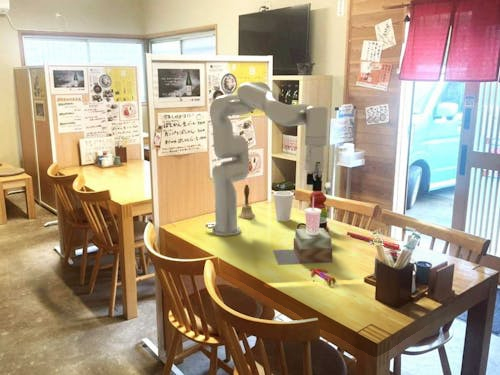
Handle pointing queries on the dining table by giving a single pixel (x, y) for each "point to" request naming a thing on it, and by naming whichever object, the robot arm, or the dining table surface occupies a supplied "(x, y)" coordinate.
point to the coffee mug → (321, 225)
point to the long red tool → (372, 240)
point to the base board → (289, 257)
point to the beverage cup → (312, 220)
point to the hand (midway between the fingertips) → (313, 187)
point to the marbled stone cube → (312, 246)
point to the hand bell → (246, 206)
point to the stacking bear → (319, 204)
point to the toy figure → (322, 275)
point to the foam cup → (283, 205)
